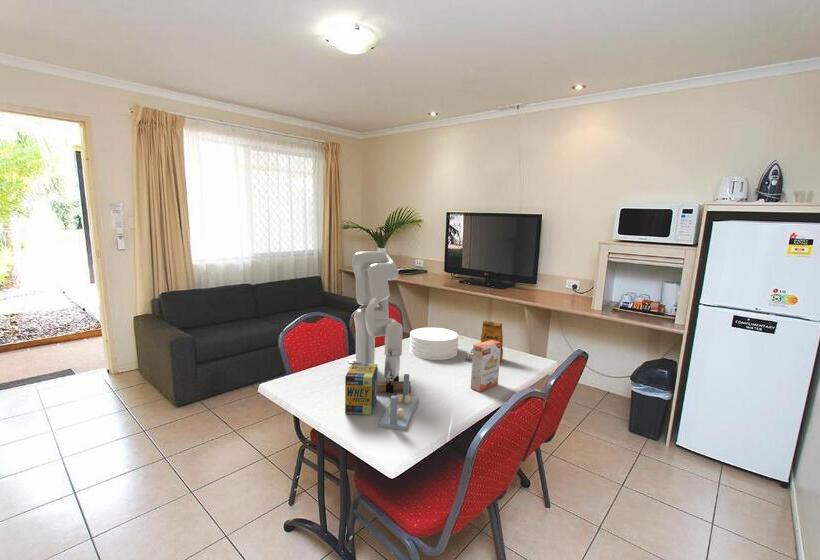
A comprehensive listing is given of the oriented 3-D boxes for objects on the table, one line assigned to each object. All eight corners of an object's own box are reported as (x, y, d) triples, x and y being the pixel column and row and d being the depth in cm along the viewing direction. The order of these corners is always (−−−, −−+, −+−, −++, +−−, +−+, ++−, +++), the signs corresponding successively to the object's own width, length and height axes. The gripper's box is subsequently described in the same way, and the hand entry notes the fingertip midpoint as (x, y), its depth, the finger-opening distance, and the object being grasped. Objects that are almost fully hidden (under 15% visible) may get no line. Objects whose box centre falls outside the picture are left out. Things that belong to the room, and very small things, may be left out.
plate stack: (399, 351, 226) (400, 332, 224) (432, 342, 245) (433, 325, 243) (434, 364, 205) (435, 343, 204) (467, 354, 224) (468, 335, 223)
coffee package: (499, 365, 207) (501, 325, 204) (477, 360, 213) (479, 322, 210) (504, 360, 215) (507, 321, 212) (483, 355, 221) (485, 318, 218)
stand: (379, 426, 140) (379, 396, 138) (395, 398, 163) (395, 372, 162) (405, 430, 138) (406, 400, 136) (418, 401, 161) (419, 375, 160)
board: (410, 393, 169) (410, 385, 168) (373, 393, 168) (374, 385, 167) (409, 389, 173) (410, 381, 173) (374, 389, 172) (374, 381, 172)
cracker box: (480, 393, 171) (483, 347, 168) (470, 388, 176) (472, 344, 173) (499, 385, 181) (501, 341, 178) (488, 381, 185) (490, 338, 182)
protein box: (344, 414, 148) (344, 376, 146) (352, 397, 164) (352, 362, 161) (371, 416, 148) (372, 377, 146) (377, 398, 163) (377, 363, 161)
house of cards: (485, 361, 213) (486, 348, 212) (479, 366, 206) (479, 352, 204) (470, 358, 218) (470, 345, 217) (463, 362, 210) (464, 349, 209)
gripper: (389, 344, 177) (389, 379, 180) (379, 356, 160) (378, 395, 163) (405, 345, 176) (404, 381, 178) (396, 358, 159) (395, 397, 161)
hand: (392, 388), depth 170 cm, fingers open, 9 cm apart
